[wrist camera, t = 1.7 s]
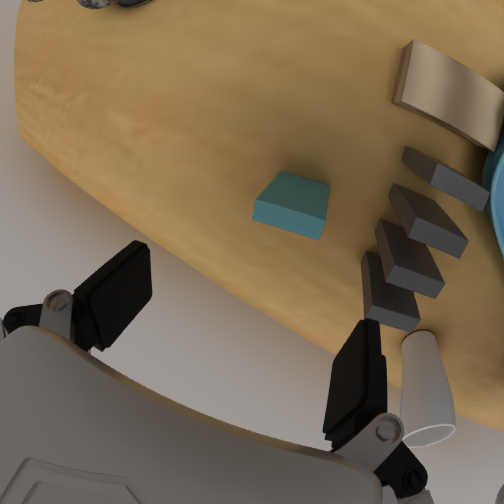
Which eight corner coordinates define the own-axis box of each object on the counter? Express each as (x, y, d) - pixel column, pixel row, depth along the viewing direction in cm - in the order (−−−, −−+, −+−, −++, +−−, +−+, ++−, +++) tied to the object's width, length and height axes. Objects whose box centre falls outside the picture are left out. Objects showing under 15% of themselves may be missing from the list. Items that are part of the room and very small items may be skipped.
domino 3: (380, 218, 25) (394, 264, 18) (420, 234, 24) (445, 283, 17) (374, 231, 26) (385, 281, 19) (414, 246, 25) (435, 298, 18)
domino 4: (366, 250, 27) (372, 305, 20) (404, 264, 27) (420, 320, 19) (360, 262, 28) (364, 318, 21) (398, 276, 28) (411, 332, 20)
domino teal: (281, 171, 26) (256, 199, 19) (329, 185, 25) (325, 220, 18) (277, 185, 27) (251, 219, 20) (325, 200, 26) (318, 240, 19)
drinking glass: (393, 331, 31) (398, 433, 19) (439, 319, 28) (461, 418, 16) (397, 361, 34) (399, 451, 21) (438, 350, 31) (451, 440, 18)
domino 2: (393, 182, 23) (417, 217, 16) (434, 200, 22) (468, 240, 15) (388, 197, 24) (408, 237, 16) (429, 214, 23) (459, 258, 16)
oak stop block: (487, 94, 15) (507, 94, 11) (476, 145, 18) (494, 152, 15) (403, 48, 16) (413, 39, 13) (391, 102, 19) (401, 101, 16)
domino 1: (405, 145, 21) (437, 163, 13) (447, 165, 20) (490, 192, 13) (401, 160, 22) (430, 185, 14) (442, 179, 21) (482, 212, 14)
